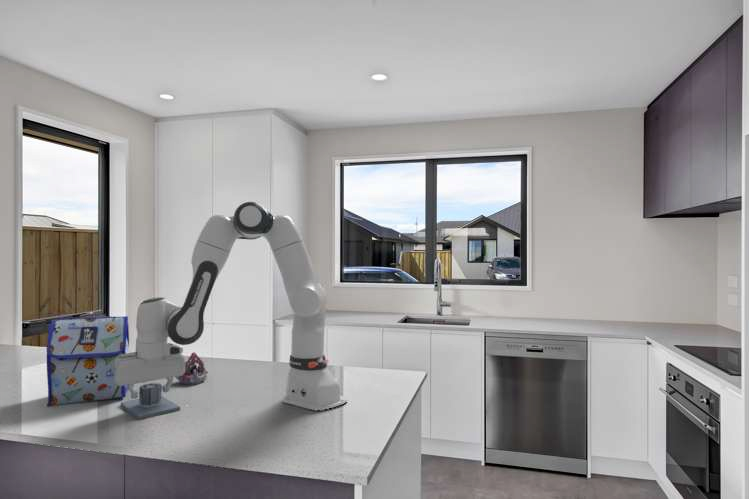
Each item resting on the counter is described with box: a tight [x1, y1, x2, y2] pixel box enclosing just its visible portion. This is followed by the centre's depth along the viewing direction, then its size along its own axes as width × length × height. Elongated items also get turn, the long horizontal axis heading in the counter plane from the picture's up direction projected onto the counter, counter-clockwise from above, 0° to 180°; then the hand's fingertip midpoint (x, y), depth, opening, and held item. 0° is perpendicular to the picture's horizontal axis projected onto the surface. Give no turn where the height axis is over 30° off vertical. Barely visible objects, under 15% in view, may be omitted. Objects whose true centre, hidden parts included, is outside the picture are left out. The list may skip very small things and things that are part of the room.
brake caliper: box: [174, 352, 208, 385], centre depth 172 cm, size 11×11×12 cm
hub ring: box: [138, 382, 163, 405], centre depth 142 cm, size 6×6×5 cm
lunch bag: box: [46, 315, 130, 407], centre depth 150 cm, size 23×17×27 cm
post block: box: [120, 386, 181, 420], centre depth 142 cm, size 16×12×6 cm
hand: (150, 394), depth 142 cm, fingers open, 8 cm apart
